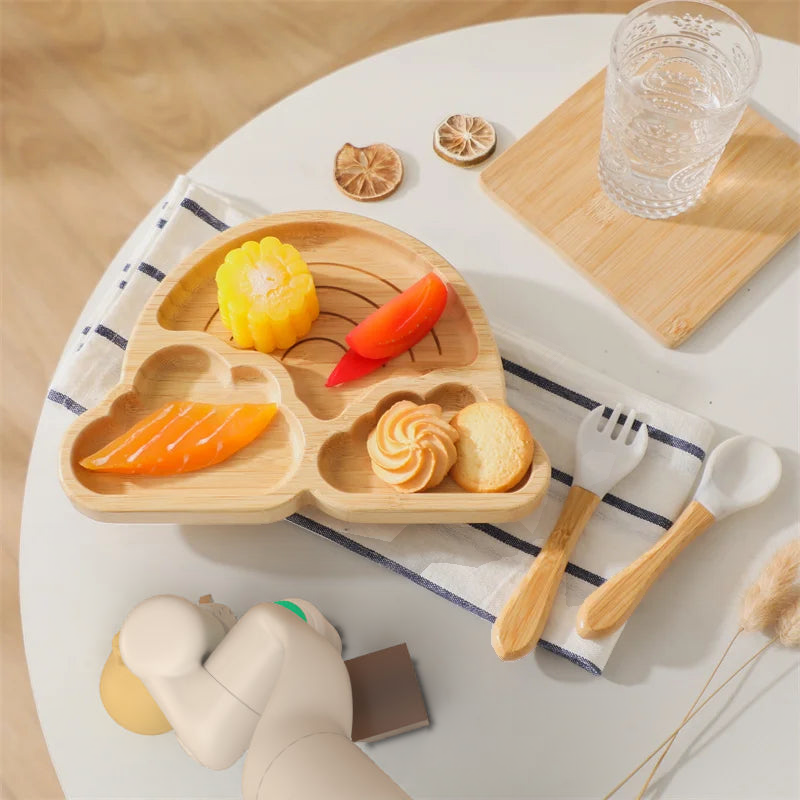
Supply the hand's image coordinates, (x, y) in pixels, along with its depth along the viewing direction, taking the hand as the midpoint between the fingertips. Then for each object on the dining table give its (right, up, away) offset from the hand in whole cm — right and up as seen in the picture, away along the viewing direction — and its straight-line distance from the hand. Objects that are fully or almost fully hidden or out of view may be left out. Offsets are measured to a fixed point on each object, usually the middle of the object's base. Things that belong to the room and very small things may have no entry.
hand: (232, 664), depth 105 cm
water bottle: (+9, 0, +4) cm, 10 cm away
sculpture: (-9, -3, +4) cm, 10 cm away
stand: (+19, -5, +2) cm, 19 cm away
